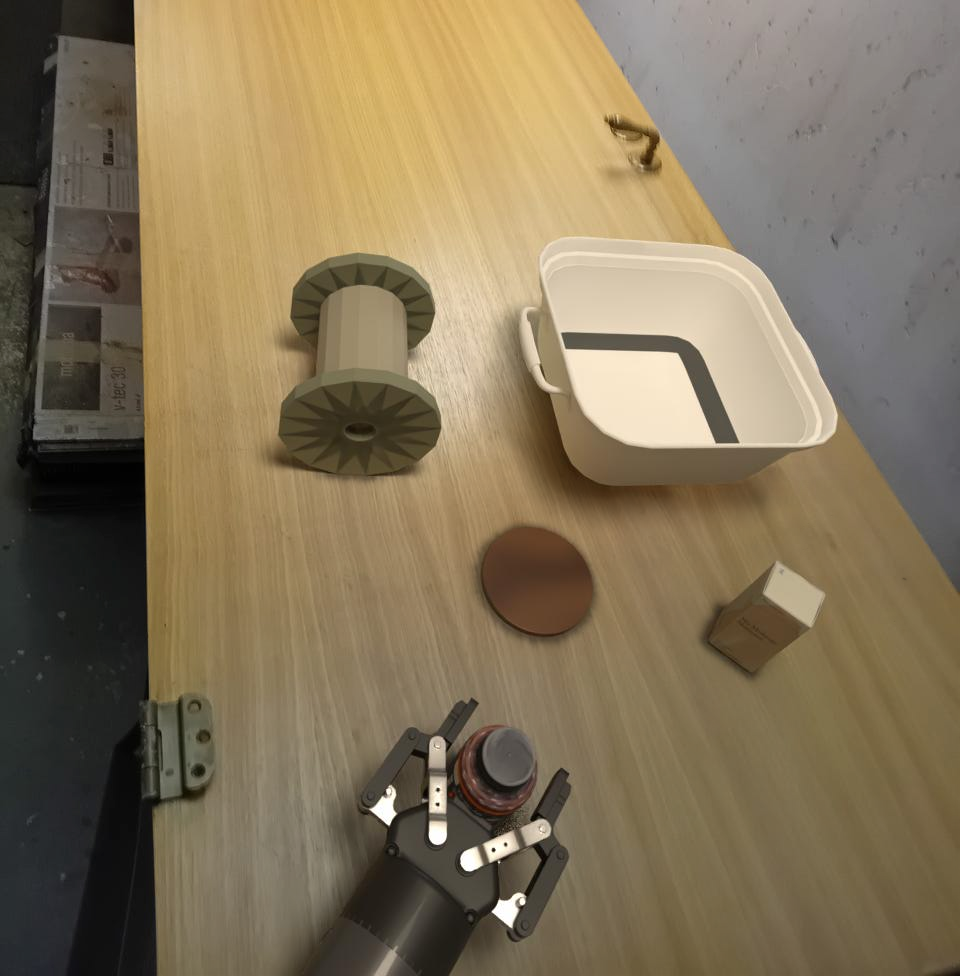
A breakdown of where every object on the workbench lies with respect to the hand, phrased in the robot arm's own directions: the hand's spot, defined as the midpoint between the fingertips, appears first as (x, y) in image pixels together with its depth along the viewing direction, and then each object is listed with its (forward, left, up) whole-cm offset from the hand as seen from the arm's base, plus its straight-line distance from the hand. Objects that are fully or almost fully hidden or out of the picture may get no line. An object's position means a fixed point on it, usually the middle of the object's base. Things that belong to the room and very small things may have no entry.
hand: (516, 737), depth 62 cm
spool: (+36, -11, -10) cm, 39 cm away
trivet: (+10, -15, -10) cm, 21 cm away
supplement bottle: (-1, +2, -10) cm, 10 cm away
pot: (+19, -39, -10) cm, 45 cm away
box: (-6, -28, -10) cm, 30 cm away
